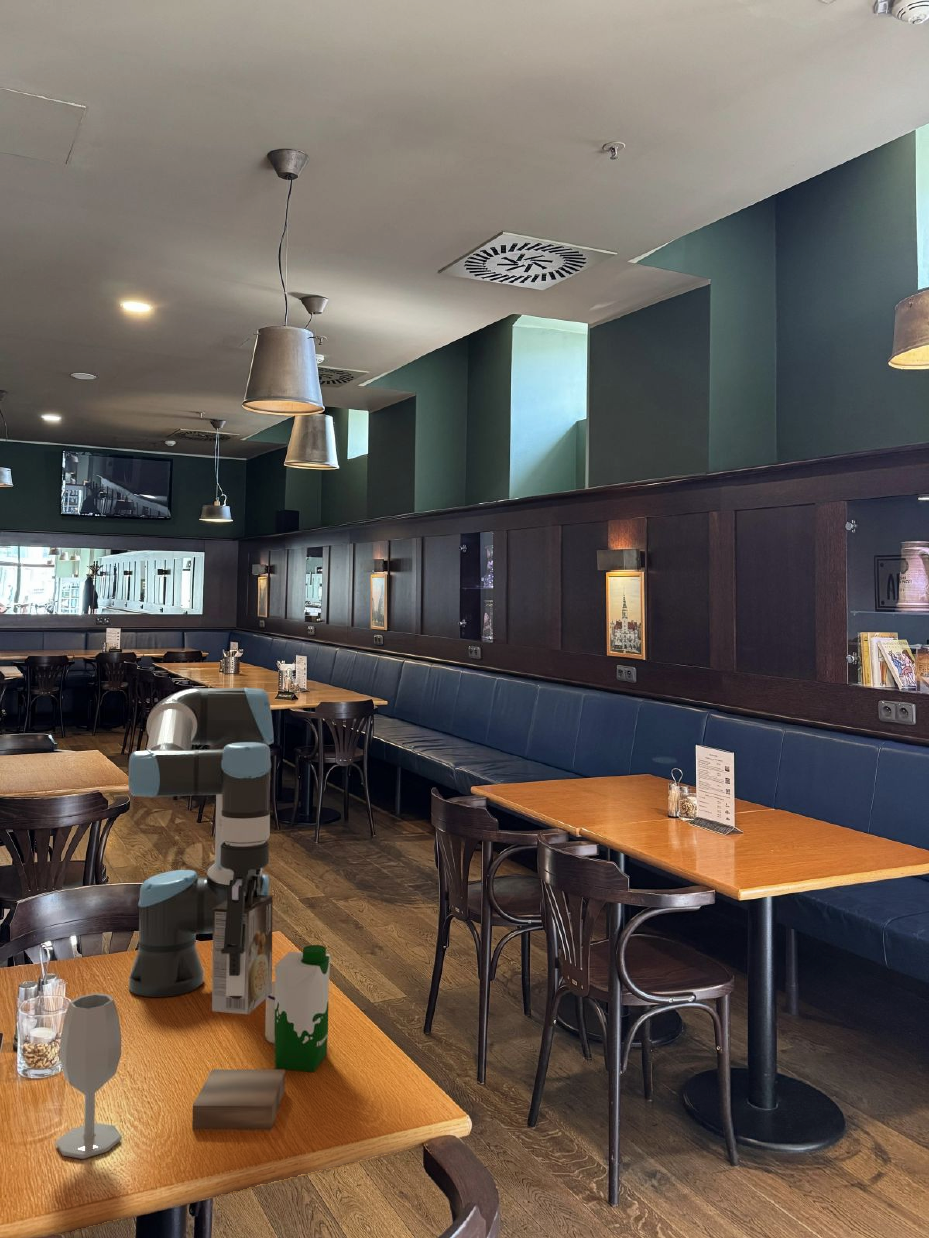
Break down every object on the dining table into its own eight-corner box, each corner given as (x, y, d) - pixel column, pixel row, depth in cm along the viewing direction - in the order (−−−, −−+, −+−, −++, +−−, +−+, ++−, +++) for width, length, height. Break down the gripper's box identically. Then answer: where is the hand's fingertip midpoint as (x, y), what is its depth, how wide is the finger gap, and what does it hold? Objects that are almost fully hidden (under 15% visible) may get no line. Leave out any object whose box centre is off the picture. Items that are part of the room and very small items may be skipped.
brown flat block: (211, 1093, 158) (212, 1069, 158) (284, 1093, 158) (285, 1069, 158) (192, 1131, 146) (192, 1105, 146) (271, 1132, 146) (271, 1105, 146)
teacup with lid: (312, 1045, 175) (313, 981, 176) (261, 1047, 174) (262, 983, 175) (315, 1019, 187) (316, 959, 187) (267, 1020, 186) (268, 960, 186)
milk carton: (317, 1075, 164) (319, 957, 164) (267, 1070, 165) (269, 954, 166) (333, 1052, 172) (335, 941, 173) (285, 1048, 174) (287, 938, 174)
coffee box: (236, 990, 157) (237, 891, 157) (272, 993, 156) (274, 894, 156) (210, 1011, 148) (212, 907, 148) (249, 1015, 147) (250, 910, 147)
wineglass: (44, 1147, 140) (47, 1003, 140) (96, 1122, 147) (99, 985, 147) (80, 1167, 135) (83, 1017, 135) (133, 1140, 142) (135, 998, 143)
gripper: (236, 826, 163) (234, 958, 163) (203, 857, 141) (200, 1009, 141) (280, 827, 164) (278, 958, 163) (254, 857, 141) (252, 1010, 141)
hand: (242, 982), depth 152 cm, fingers closed on coffee box, 10 cm apart
